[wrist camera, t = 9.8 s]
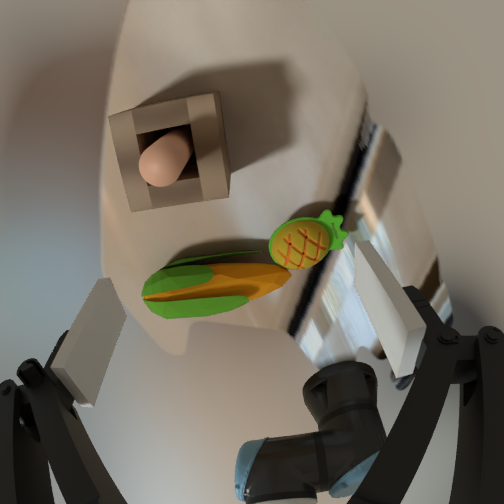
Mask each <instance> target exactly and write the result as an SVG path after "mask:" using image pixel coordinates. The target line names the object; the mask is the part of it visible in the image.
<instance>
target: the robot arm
mask: <svg viewBox="0 0 504 504" xmlns="http://www.w3.org/2000/svg"><path fill="white" fill-rule="evenodd" d="M354 288H355V290H356V292H357V294H358V296H359V298H360V300H361V302H362V304H363V306H364V308H365V310H366V312H367V314H368V316H369V319H370V321H371V323H372V325H373V327H374V329H375V331H376V334H377V336H378V338H379V340H380V342H381V345H382V347H383V349H384V351H385V353H386V356H387V358H388V360H389V363H390V365H391V367H392V369H393V372H394V374H395V376H396V378H399V377H402V376H406V375H410V374H413V371H414V368H415V365H416V367H417V369H418V371H417V374H416V376H415V379H414V381H413V384H412V386H411V388H410V391H409V393H408V395H407V398H406V400H405V402H404V404H403V406H402V409H401V410H400V413H399V415H398V417H397V419H396V421H395V423H394V425H393V427H392V429H391V431H390V433H389V435H388V437H387V436H386V433H385V430H384V427H383V424H382V421H381V417H380V414H379V412H378V409H377V378H376V375H375V372H374V370H373V368H372V367H371V366H369V365H368V364H366V363H362V362H343V363H338V364H334V365H331V366H329V367H326V368H324V369H322V370H320V371H318V372H317V373H315V374H314V375H313V376H311V377H310V378H309V379H308V380H307V382H306V383H305V385H304V387H303V397H304V402H305V405H306V406H307V408H308V409H309V411H310V412H311V414H312V416H313V417H314V419H315V421H316V422H317V424H318V428H319V431H318V432H312V433H305V434H299V435H293V436H283V437H275V438H269V437H267V438H264V439H260V440H252V441H248V442H246V443H244V444H243V445H242V447H241V448H240V450H239V453H238V456H237V460H236V467H235V483H236V485H235V492H236V496H237V498H238V499H239V500H241V501H243V502H244V501H245V502H246V504H316V503H317V495H316V493H319V492H323V491H329V494H330V495H331V497H333V498H340V497H347V496H351V495H352V497H351V498H350V500H349V501H348V503H347V504H400V503H401V501H402V499H403V498H404V496H405V494H406V492H407V490H408V488H409V486H410V484H411V482H412V480H413V478H414V476H415V474H416V472H417V470H418V468H419V465H420V463H421V461H422V459H423V456H424V454H425V452H426V449H427V447H428V445H429V442H430V440H431V438H432V435H433V432H434V430H435V427H436V424H437V422H438V419H439V417H440V414H441V411H442V408H443V405H444V402H445V399H446V396H447V393H448V389H449V387H450V384H460V407H459V428H458V442H457V452H456V461H455V470H454V477H453V483H452V490H451V496H450V501H449V504H504V334H503V332H502V331H501V330H500V329H498V328H496V327H493V326H485V327H483V328H481V329H480V331H479V333H478V335H477V336H461V335H460V334H459V333H458V332H457V331H456V330H455V329H453V328H451V327H445V325H444V324H443V322H442V321H441V319H440V318H439V316H438V315H437V313H436V312H435V311H434V309H433V308H432V306H430V303H429V302H428V300H426V298H425V296H424V295H423V293H422V292H421V291H420V290H418V289H417V288H415V287H414V286H407V287H401V286H400V284H399V283H398V281H397V280H396V278H395V277H394V275H393V274H392V272H391V271H390V269H389V268H388V267H387V265H386V264H385V262H384V261H383V259H382V258H381V257H380V255H379V254H378V252H377V251H376V250H375V248H374V247H373V245H372V244H371V243H370V241H369V240H367V241H361V242H355V266H354ZM126 317H127V315H126V313H125V311H124V309H123V306H122V304H121V302H120V300H119V298H118V295H117V293H116V291H115V288H114V286H113V284H112V281H111V279H110V278H103V279H98V281H97V282H96V284H95V286H94V288H93V289H92V291H91V293H90V294H89V296H88V298H87V299H86V301H85V303H84V305H83V307H82V308H81V310H80V312H79V314H78V315H77V317H76V319H75V321H74V323H73V324H72V326H71V328H70V330H66V331H65V333H63V335H62V336H61V337H60V338H59V340H58V342H57V344H56V346H55V347H54V349H53V352H52V353H51V355H50V357H49V359H48V361H47V363H46V365H45V367H44V369H43V367H42V366H41V365H40V363H39V362H38V361H37V359H34V358H31V359H28V360H26V361H24V362H23V363H22V364H21V365H20V366H19V367H18V370H17V376H18V377H19V378H20V380H21V381H22V382H23V384H24V385H20V386H17V385H16V384H15V382H14V381H13V380H11V379H9V380H5V381H3V382H2V383H1V384H0V504H55V503H54V498H53V493H52V486H51V479H50V473H49V465H48V461H49V463H50V466H51V469H52V471H53V474H54V476H55V479H56V481H57V483H58V486H59V488H60V490H61V493H62V495H63V497H64V499H65V502H66V504H127V502H126V501H125V499H124V498H123V496H122V494H121V493H120V491H119V490H118V488H117V486H116V485H115V483H114V482H113V480H112V478H111V477H110V475H109V473H108V471H107V470H106V468H105V466H104V465H103V463H102V461H101V459H100V457H99V455H98V454H97V452H96V450H95V448H94V446H93V444H92V442H91V440H90V438H89V436H88V434H87V432H86V430H85V428H84V426H83V424H82V422H81V420H80V417H79V415H78V413H77V411H76V409H75V408H74V406H73V405H72V404H73V401H74V399H75V400H76V401H77V403H78V404H79V405H80V406H82V407H94V405H95V402H96V399H97V396H98V393H99V390H100V387H101V384H102V381H103V378H104V375H105V373H106V370H107V367H108V364H109V361H110V359H111V356H112V353H113V351H114V348H115V345H116V343H117V340H118V337H119V335H120V332H121V330H122V327H123V324H124V322H125V320H126ZM20 422H21V424H20Z"/></svg>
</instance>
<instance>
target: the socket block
mask: <svg viewBox="0 0 504 504" xmlns="http://www.w3.org/2000/svg"><path fill="white" fill-rule="evenodd" d="M108 118H109V123H110V128H111V133H112V138H113V142H114V147H115V151H116V155H117V160H118V164H119V168H120V172H121V176H122V180H123V184H124V188H125V192H126V195H127V199H128V203H129V206H130V210H131V212H137V211H143V210H149V209H155V208H161V207H167V206H174V205H180V204H187V203H194V202H200V201H207V200H215V199H222V198H229V190H230V178H231V172H230V165H229V158H228V151H227V145H226V138H225V131H224V124H223V117H222V110H221V103H220V96H219V91H216V92H210V93H204V94H198V95H192V96H187V97H181V98H176V99H171V100H166V101H162V102H157V103H153V104H148V105H144V106H140V107H136V108H132V109H129V110H126V111H123V112H120V113H117V114H114V115H111V116H108ZM185 124H190V125H191V131H192V137H193V142H194V148H195V154H196V159H195V160H189V161H187V163H186V165H185V167H184V168H183V170H182V172H181V173H180V175H179V177H178V178H177V180H176V181H175V182H173V183H172V184H170V185H168V186H164V187H157V186H153V185H151V184H149V183H148V182H146V181H145V180H144V178H143V177H142V176H141V173H140V171H139V160H140V157H141V155H142V153H143V152H144V151H145V150H146V149H147V148H148V147H150V146H151V145H152V144H153V143H155V142H156V141H157V140H158V139H160V138H159V133H158V130H159V129H164V128H169V127H174V126H180V125H185Z"/></svg>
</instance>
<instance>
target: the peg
mask: <svg viewBox="0 0 504 504" xmlns="http://www.w3.org/2000/svg"><path fill="white" fill-rule="evenodd" d="M194 150H195V148H194V142H193V137H192V131H191V126H189V125H180V126H176V127H174V128H173V129H171V130H170V131H169V132H167V133H166V134H165V135H163V136H162V137H161V138H160V139H158V140H157V141H156V142H155V143H153V144H152V145H151V146H150V147H148V148H147V149H146V150H145V151H144V152H143V153H142V155H141V157H140V160H139V171H140V173H141V176H142V177H143V178H144V180H145V181H146V182H148V183H149V184H151V185H153V186H157V187H164V186H168V185H170V184H172V183H173V182H175V181H176V180H177V178H178V177H179V175H180V173H181V172H182V170H183V168H184V167H185V165H186V163H187V161H188V160H189V158H190V156H191V155H192V153H193V151H194Z"/></svg>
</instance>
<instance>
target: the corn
mask: <svg viewBox="0 0 504 504" xmlns="http://www.w3.org/2000/svg"><path fill="white" fill-rule="evenodd" d="M261 252H263V251H243V252H232V253H224V254H217V255H209V256H201V257H193V258H185V259H180V260H177V261H175V262H173V263H171V264H169V265H167V266H165V267H163V268H162V269H160V270H159V271H157V272H156V273H155V274H153V275H152V276H151V277H150V278H149V279H148V280H147V281H146V282H145V284H144V287H143V290H142V297H143V296H144V299H143V301H144V302H145V304H146V305H147V306H148V308H149V309H150V310H151V312H153V313H155V314H157V315H159V316H161V317H163V318H165V319H173V318H188V317H202V316H210V315H214V314H219V313H223V312H228V311H230V310H233V309H235V308H238V307H240V306H242V305H244V304H246V303H247V302H249V300H252V299H255V298H258V297H261V296H263V295H265V294H267V293H270V292H272V291H274V290H276V289H278V288H280V287H282V286H283V285H284V284H285V282H286V281H287V280H288V279H289V278H290V277H291V276H292V275H291V274H290V272H289V271H288V270H287V269H286V268H283V267H281V266H279V265H274V264H265V263H217V264H209V265H189V266H180V265H184V264H189V263H193V262H198V261H202V260H207V259H215V258H223V257H229V256H235V255H243V254H255V253H261ZM175 266H179V267H175ZM172 267H174V268H172Z"/></svg>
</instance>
